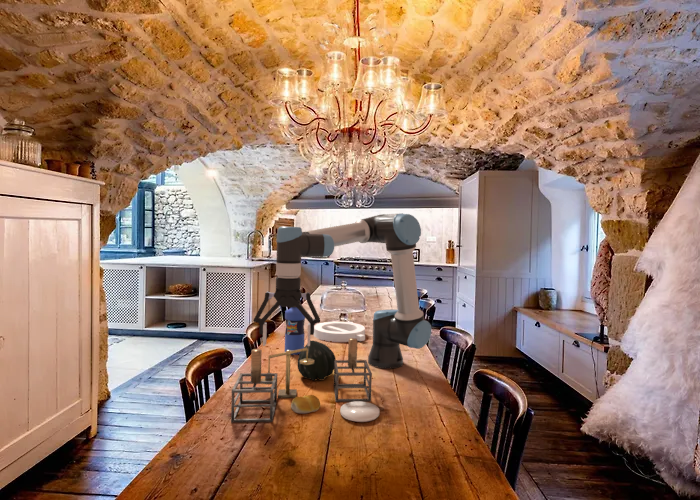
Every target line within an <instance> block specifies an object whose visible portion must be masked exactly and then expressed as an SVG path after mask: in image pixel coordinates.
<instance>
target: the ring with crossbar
mask: <svg viewBox="0 0 700 500" xmlns="http://www.w3.org/2000/svg"><path fill="white" fill-rule="evenodd" d="M313 337H314V338H315V337H316V338H315V339H317V340H321V341H324V340H325V342H330V341H332V342H331V343H349V338H356V339H357V342H364V341H365V340H366V328H365V326H364V325H362V324H360V323H355V322H350V321H325V322H319V323H316V324H315V325H314V334H313Z"/></svg>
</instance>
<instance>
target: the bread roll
mask: <svg viewBox="0 0 700 500" xmlns="http://www.w3.org/2000/svg"><path fill="white" fill-rule="evenodd" d="M290 408H291V410H292V411H293V412H294V413H297V414H304V415H305V414H309V413H312V412H313V413H314V412H317V411H318V410H319V409H320V408H321V401H320V399H319V398H318V397H317V396H316V395H313V394H307V395H303V396H296V398H292V401H291V404H290Z"/></svg>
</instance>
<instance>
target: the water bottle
mask: <svg viewBox="0 0 700 500" xmlns="http://www.w3.org/2000/svg"><path fill="white" fill-rule="evenodd" d="M299 302H300V303H301V301H300V300H299ZM284 312H285V313H284V319H285V332H284V352H286V351H287V350H290V351H294V350H298V349H303V348H304V347H305V327H304V326H305V321H306V320H305V319H306V318H305V317H304V315H303V314H302V313H301V312H300V311H299V309H298V308H297V307H296V306H294V307H289V309H286V310H285V311H284ZM300 353H301V352H297V353H293V354H291V355H290V356H299V355H298V354H300Z"/></svg>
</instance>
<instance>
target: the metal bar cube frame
mask: <svg viewBox="0 0 700 500" xmlns="http://www.w3.org/2000/svg"><path fill="white" fill-rule="evenodd" d="M347 351H348V355H347V356H348V357H347V360H345V359H343V360H342V359H337V360H334V370H333V391H334V398H335V399H334V400H335V403H349V402H354V401H363V402H368V403H371V402H372V383H373V381H372V379H373V373H372V371H371V368H370V366H369V363H368V360H367V359H361V360H359V359H357V358H358V340H357V339H356V338H349V342H348V349H347ZM359 363H360V364H361V363H362V364H364V365H363V366H357V365H358V364H359ZM338 364H347V366H338ZM346 369H347V370H351V372H350V371H349V372H348V371H347V372H346V371H345V372H339V370H346ZM356 369H357V370H358V369H359V370H361V369H362V370H363V371H360V372H359V371H355V370H356ZM343 376H345V377H347V376H349V377H353V376H354V377H355V376H356V377H357V376H361V377H363V383H339V382H340V381H339V380H340V379H339V377H343ZM368 376H369V377H368ZM339 389H364V391H365V394H366V397H367V398H339Z"/></svg>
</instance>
